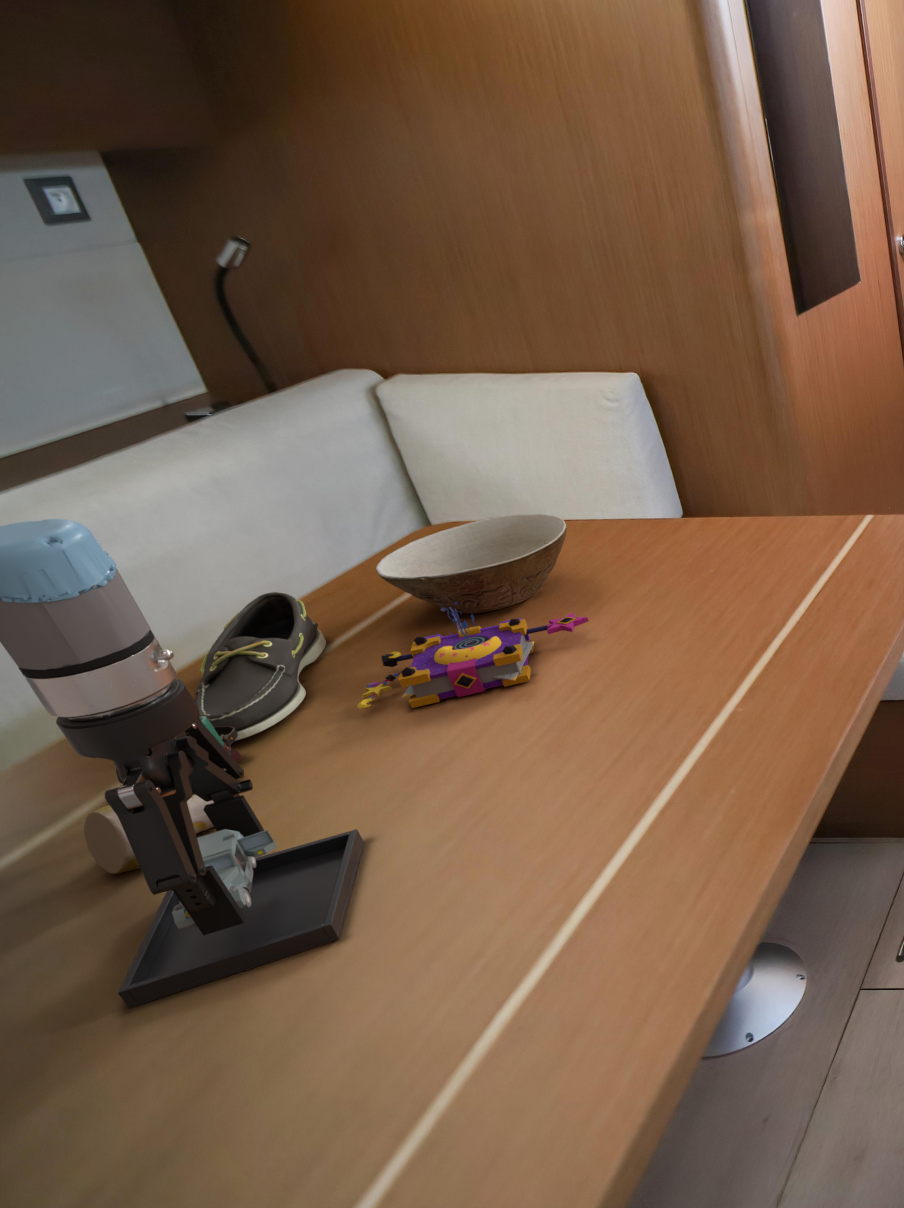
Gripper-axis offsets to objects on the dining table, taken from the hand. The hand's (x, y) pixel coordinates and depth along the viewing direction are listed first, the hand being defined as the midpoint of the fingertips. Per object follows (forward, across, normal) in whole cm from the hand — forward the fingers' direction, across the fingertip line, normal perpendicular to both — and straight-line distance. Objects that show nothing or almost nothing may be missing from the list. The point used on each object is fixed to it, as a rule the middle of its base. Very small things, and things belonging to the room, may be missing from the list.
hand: (240, 888), depth 91 cm
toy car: (0, 0, 0) cm, 0 cm away
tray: (+4, 0, 0) cm, 4 cm away
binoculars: (+4, +31, +11) cm, 33 cm away
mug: (+4, +18, +10) cm, 21 cm away
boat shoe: (+4, +50, +8) cm, 51 cm away
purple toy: (+4, +41, -16) cm, 44 cm away
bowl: (+4, +66, -16) cm, 68 cm away
